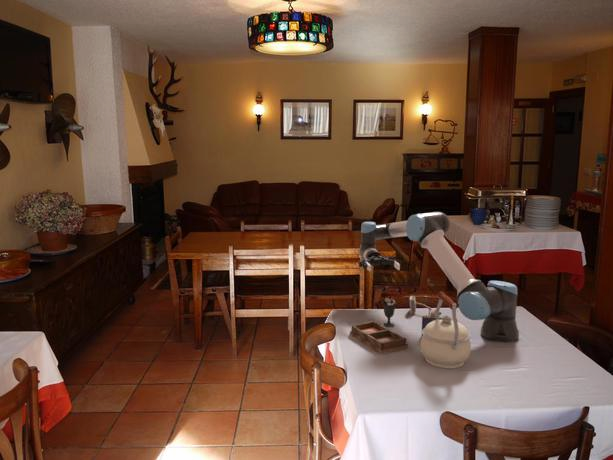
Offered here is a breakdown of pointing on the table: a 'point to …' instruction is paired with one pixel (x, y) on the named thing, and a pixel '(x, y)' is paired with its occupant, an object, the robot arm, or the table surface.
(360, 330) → the crate
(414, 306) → the decorative sculpture
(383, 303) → the sundae
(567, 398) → the table surface
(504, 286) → the robot arm
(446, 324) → the kettle
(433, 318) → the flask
